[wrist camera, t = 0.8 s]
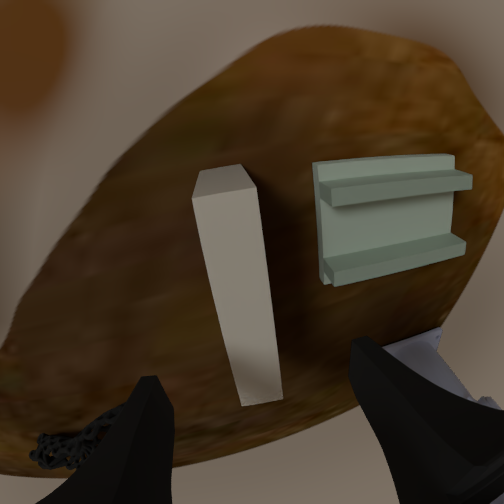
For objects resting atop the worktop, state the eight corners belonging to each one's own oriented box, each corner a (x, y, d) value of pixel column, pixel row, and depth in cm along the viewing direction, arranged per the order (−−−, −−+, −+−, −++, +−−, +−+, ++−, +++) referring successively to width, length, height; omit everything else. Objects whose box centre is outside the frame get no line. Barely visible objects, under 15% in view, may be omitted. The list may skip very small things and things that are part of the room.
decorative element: (121, 387, 24) (108, 438, 18) (160, 414, 26) (155, 464, 20) (30, 433, 27) (19, 465, 22) (59, 452, 29) (50, 484, 24)
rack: (440, 250, 22) (462, 266, 19) (319, 277, 21) (334, 300, 18) (446, 153, 18) (472, 160, 16) (312, 162, 18) (329, 170, 15)
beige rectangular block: (264, 327, 22) (283, 398, 16) (233, 333, 22) (242, 406, 16) (240, 163, 17) (256, 187, 11) (200, 170, 17) (191, 198, 11)
